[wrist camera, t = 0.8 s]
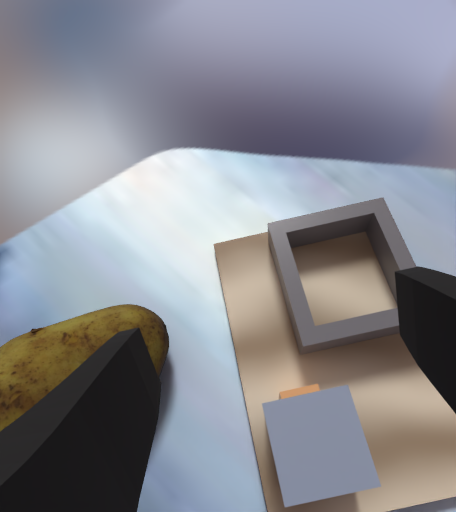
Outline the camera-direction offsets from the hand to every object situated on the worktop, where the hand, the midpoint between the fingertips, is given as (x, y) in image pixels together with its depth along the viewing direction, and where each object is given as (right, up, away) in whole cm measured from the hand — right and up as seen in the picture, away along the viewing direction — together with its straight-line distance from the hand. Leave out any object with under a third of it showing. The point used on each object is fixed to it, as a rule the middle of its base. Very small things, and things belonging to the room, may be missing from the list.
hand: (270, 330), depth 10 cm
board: (+5, -4, +14) cm, 15 cm away
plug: (+3, -9, +11) cm, 14 cm away
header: (+7, 0, +15) cm, 17 cm away
